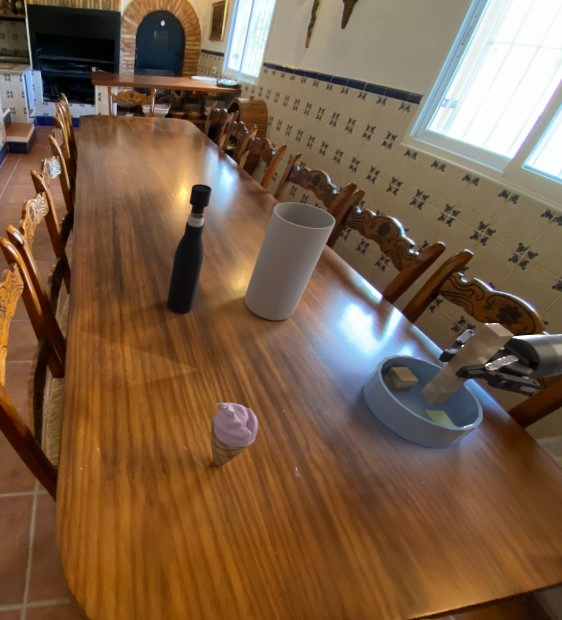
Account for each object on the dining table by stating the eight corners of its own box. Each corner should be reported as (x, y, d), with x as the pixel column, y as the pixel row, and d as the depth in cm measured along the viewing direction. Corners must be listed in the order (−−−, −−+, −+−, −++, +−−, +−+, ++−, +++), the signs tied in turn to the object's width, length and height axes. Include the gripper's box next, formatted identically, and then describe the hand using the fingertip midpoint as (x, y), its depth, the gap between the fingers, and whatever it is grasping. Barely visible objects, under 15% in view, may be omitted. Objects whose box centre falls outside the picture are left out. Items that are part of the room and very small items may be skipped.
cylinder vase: (266, 286, 98) (299, 198, 82) (303, 312, 90) (347, 221, 74) (233, 299, 93) (261, 208, 76) (270, 328, 85) (309, 234, 69)
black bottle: (188, 316, 86) (214, 196, 67) (163, 309, 88) (181, 190, 68) (195, 301, 91) (221, 185, 71) (171, 294, 92) (190, 179, 73)
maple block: (408, 391, 72) (418, 380, 70) (393, 391, 72) (402, 380, 70) (397, 377, 75) (407, 366, 73) (382, 378, 74) (391, 367, 72)
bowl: (482, 450, 64) (507, 432, 60) (390, 446, 63) (409, 427, 59) (425, 376, 76) (442, 357, 72) (348, 372, 76) (361, 352, 72)
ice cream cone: (191, 447, 60) (209, 393, 51) (224, 438, 62) (247, 384, 52) (209, 486, 56) (232, 434, 46) (244, 475, 57) (273, 423, 48)
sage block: (444, 438, 64) (457, 427, 62) (425, 438, 64) (437, 427, 62) (432, 421, 67) (443, 410, 65) (414, 420, 67) (425, 410, 65)
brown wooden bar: (442, 404, 67) (514, 335, 55) (429, 405, 66) (500, 336, 55) (431, 391, 69) (498, 322, 57) (418, 393, 68) (483, 323, 57)
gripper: (555, 402, 61) (471, 412, 58) (482, 343, 71) (408, 349, 68) (595, 373, 56) (505, 383, 53) (510, 314, 66) (431, 320, 63)
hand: (451, 364), depth 61 cm, fingers closed on brown wooden bar, 3 cm apart
